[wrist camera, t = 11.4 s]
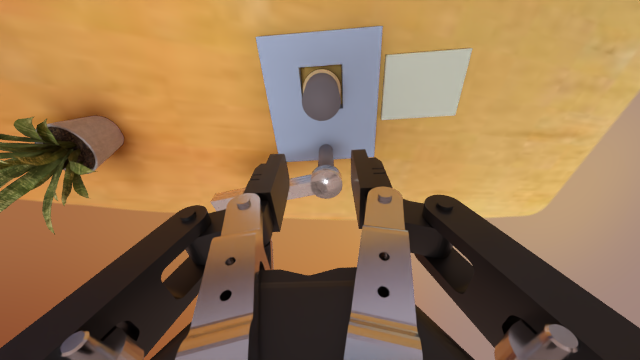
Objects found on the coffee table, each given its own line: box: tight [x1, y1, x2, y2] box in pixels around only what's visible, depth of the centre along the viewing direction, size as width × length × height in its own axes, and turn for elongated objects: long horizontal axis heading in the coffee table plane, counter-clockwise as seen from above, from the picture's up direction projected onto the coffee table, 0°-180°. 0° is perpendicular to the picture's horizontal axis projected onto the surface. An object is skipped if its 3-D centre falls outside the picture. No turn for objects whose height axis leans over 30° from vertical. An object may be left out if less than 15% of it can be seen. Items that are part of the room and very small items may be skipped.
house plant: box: [0, 116, 124, 233], centre depth 27 cm, size 14×14×16 cm
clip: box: [211, 165, 342, 211], centre depth 27 cm, size 4×16×2 cm, turn 104°
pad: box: [381, 48, 472, 120], centre depth 30 cm, size 10×8×1 cm
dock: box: [256, 26, 383, 167], centre depth 28 cm, size 14×16×9 cm
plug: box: [302, 69, 341, 121], centre depth 27 cm, size 5×5×8 cm
